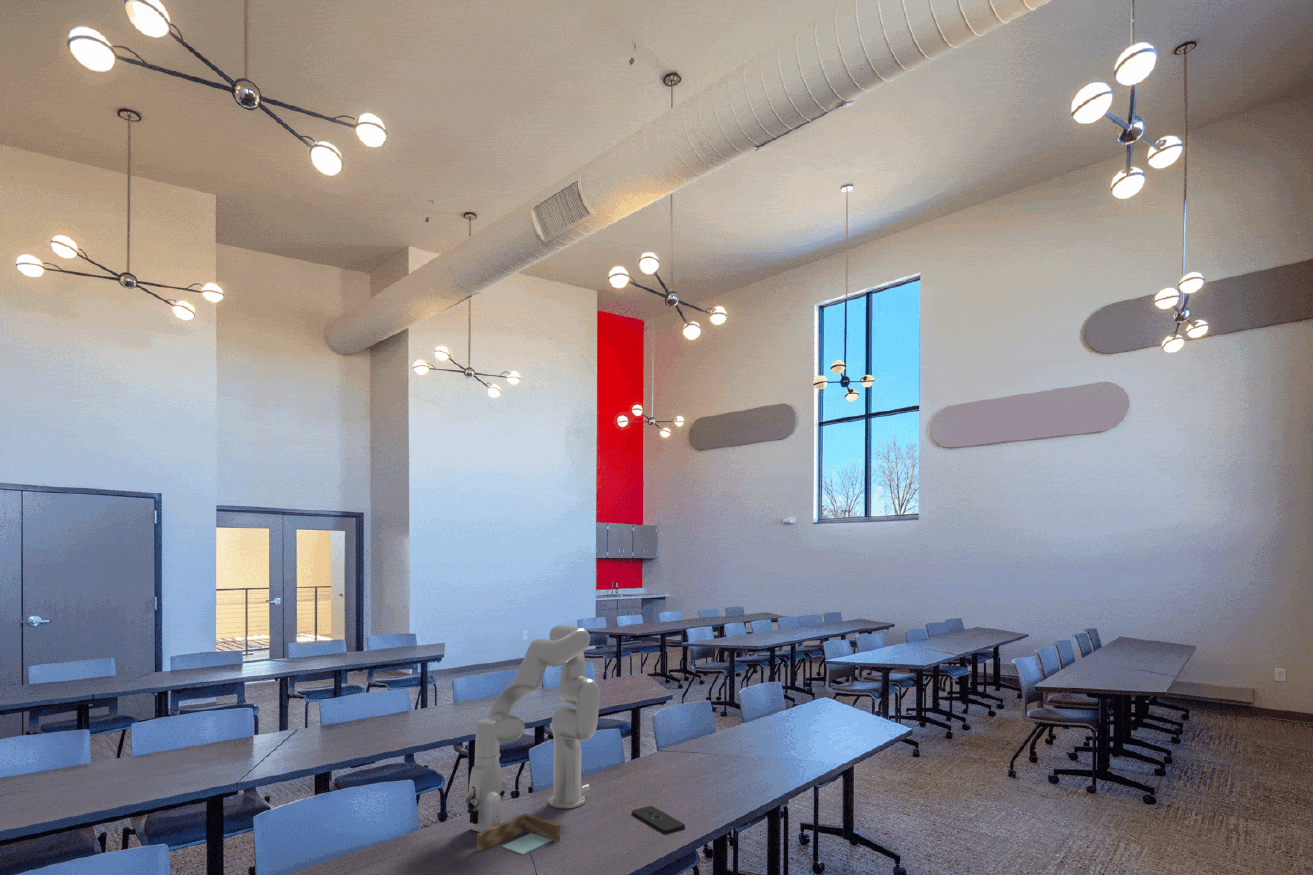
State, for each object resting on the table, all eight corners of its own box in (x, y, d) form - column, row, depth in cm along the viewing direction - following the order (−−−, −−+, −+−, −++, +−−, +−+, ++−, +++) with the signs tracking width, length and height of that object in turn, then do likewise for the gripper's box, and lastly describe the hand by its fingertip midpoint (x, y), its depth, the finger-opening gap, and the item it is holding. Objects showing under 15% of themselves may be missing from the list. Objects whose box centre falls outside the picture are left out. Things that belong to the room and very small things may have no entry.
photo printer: (502, 831, 224) (503, 789, 225) (492, 836, 220) (493, 794, 222) (477, 825, 229) (478, 784, 230) (467, 830, 225) (469, 788, 227)
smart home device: (651, 804, 242) (686, 823, 226) (651, 810, 242) (686, 829, 225) (630, 810, 237) (664, 830, 221) (630, 815, 237) (664, 836, 221)
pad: (531, 833, 222) (531, 832, 222) (552, 840, 217) (552, 839, 217) (501, 846, 212) (501, 845, 212) (522, 854, 207) (522, 853, 207)
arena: (525, 828, 226) (525, 813, 226) (559, 839, 217) (559, 824, 218) (476, 849, 210) (477, 833, 211) (511, 863, 201) (511, 846, 202)
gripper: (499, 751, 236) (498, 807, 234) (457, 765, 222) (454, 824, 220) (515, 755, 232) (514, 812, 229) (472, 769, 218) (470, 830, 215)
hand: (485, 818), depth 225 cm, fingers open, 8 cm apart
